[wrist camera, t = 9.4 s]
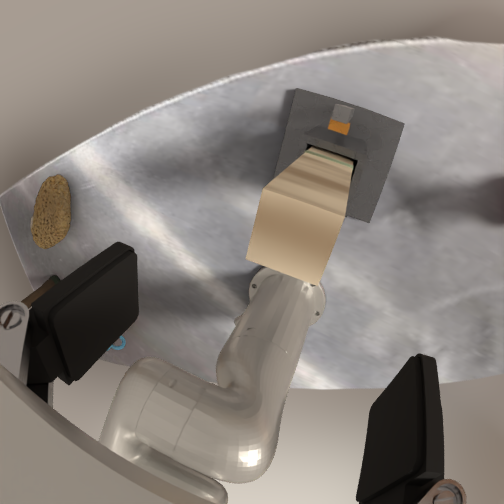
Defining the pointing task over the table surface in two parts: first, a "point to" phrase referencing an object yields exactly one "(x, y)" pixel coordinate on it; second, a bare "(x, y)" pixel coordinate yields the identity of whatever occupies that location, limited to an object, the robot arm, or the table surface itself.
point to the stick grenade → (41, 291)
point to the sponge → (51, 212)
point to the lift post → (302, 215)
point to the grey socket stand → (343, 144)
